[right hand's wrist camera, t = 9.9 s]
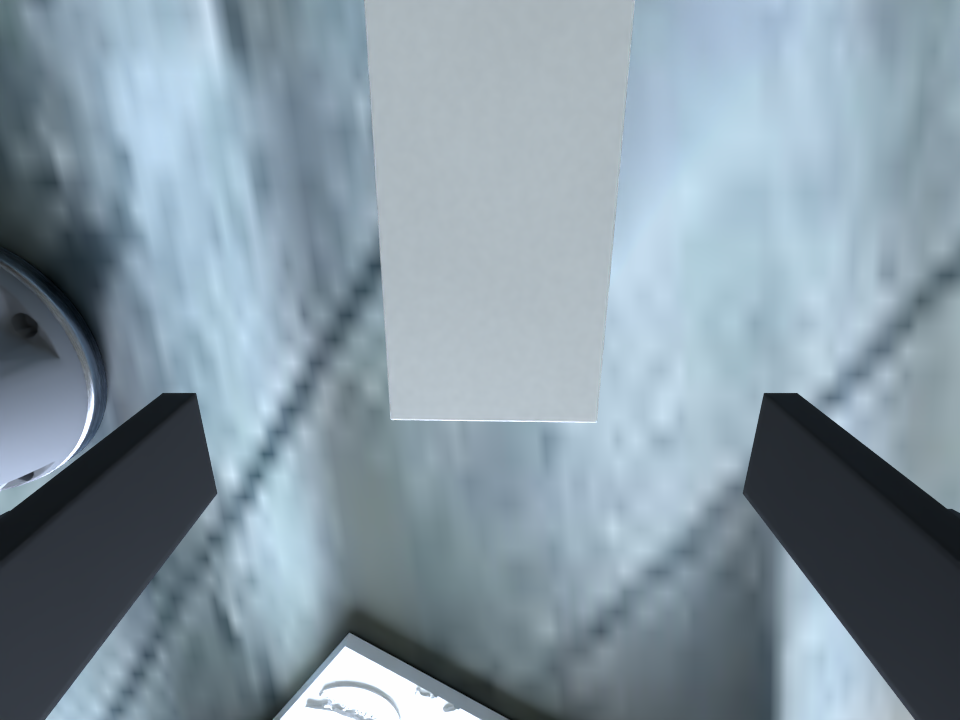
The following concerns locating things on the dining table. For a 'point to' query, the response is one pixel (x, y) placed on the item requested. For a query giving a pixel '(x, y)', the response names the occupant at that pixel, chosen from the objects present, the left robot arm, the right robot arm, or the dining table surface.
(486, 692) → the dining table surface
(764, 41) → the dining table surface
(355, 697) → the relief map
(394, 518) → the dining table surface
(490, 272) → the long white beam
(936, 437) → the dining table surface
